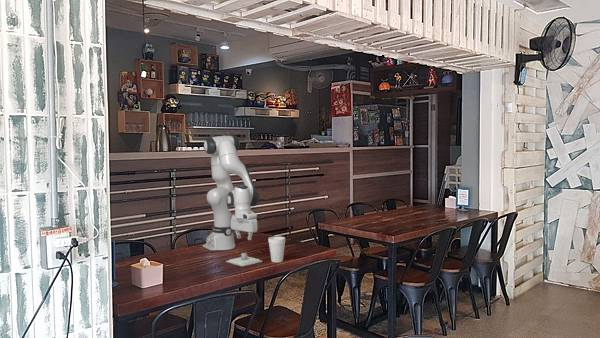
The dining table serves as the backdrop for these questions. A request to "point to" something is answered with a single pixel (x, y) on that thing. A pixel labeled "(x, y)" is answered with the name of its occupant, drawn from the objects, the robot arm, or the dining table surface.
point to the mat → (244, 264)
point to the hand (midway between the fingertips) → (244, 238)
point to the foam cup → (276, 248)
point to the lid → (244, 259)
